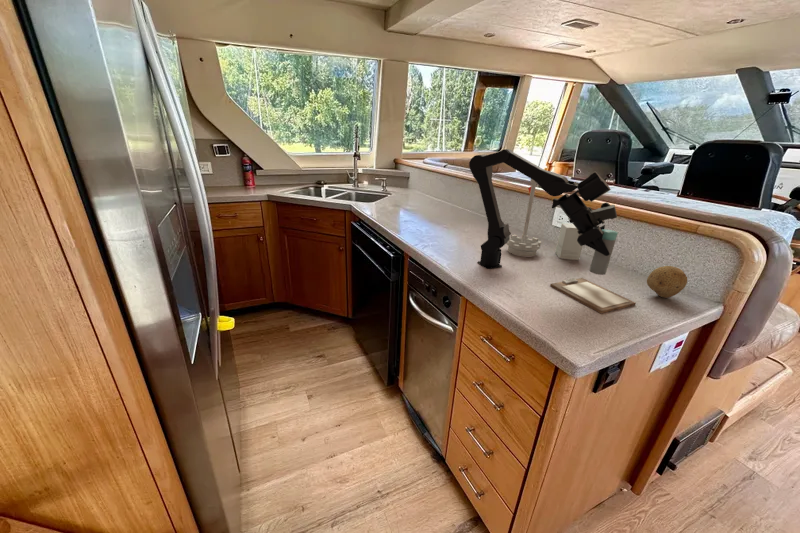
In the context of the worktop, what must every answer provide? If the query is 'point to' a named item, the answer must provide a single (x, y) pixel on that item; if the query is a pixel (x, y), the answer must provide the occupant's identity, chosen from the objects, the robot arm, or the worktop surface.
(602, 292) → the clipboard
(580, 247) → the supplement box
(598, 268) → the green-topped grey cylinder
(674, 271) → the brown potato
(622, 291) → the worktop surface
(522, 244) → the flag stand
